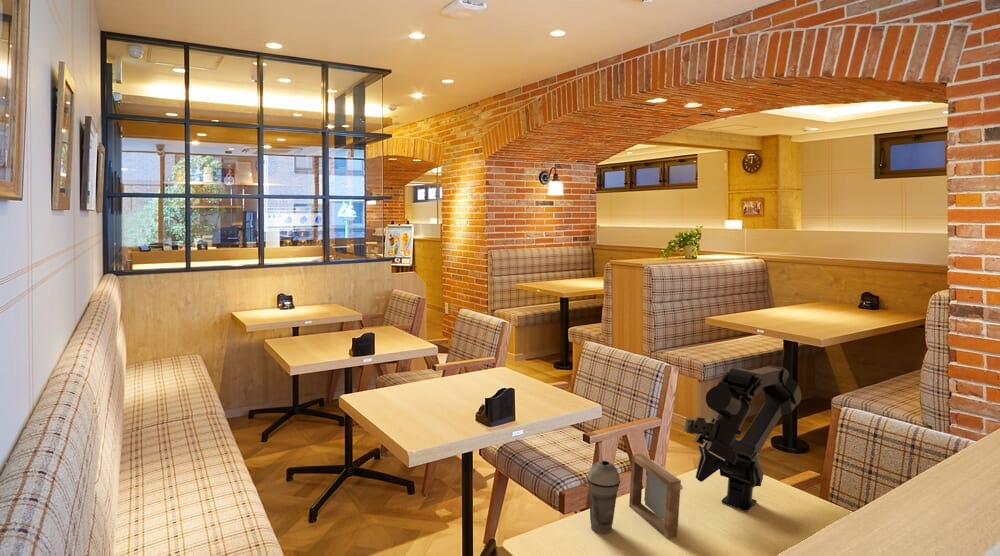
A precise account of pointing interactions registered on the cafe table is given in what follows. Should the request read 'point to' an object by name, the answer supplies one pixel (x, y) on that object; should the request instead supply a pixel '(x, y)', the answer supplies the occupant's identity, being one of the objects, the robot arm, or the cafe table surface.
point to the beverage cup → (602, 494)
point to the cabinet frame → (672, 497)
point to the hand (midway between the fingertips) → (698, 479)
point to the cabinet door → (657, 494)
